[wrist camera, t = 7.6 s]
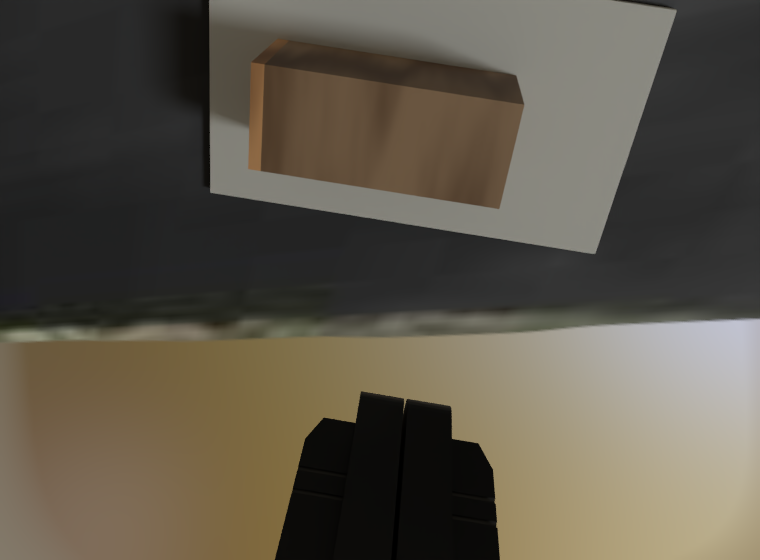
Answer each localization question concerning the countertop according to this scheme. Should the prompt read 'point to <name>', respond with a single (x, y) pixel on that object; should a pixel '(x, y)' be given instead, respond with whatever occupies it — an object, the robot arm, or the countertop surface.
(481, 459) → the robot arm
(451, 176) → the walnut block
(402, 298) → the countertop surface
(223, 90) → the grey mat
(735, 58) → the countertop surface
